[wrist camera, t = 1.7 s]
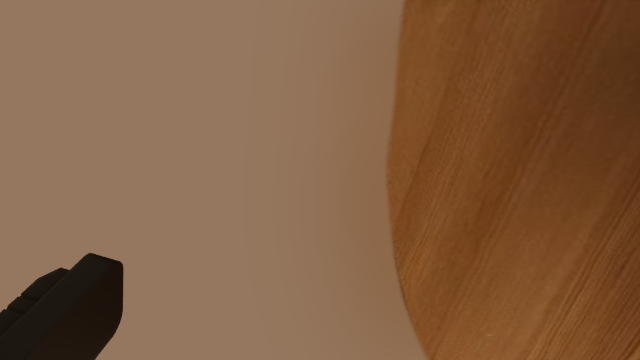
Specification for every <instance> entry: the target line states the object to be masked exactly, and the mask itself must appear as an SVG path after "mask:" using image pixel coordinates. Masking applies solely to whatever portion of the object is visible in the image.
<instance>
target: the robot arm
mask: <svg viewBox="0 0 640 360" xmlns="http://www.w3.org/2000/svg"><path fill="white" fill-rule="evenodd" d="M122 312H123V264H122V263H121V262H120V261H116V260H113V259H110V258H106V257H103V256H99V255H96V254H93V253H89V254H87V255H85V256H84V257H83V258H82V259H81V260H80V261H79V262H78V263H77V264H76V265H75V266H74V267H73V268H72V269H70V270H67V269H63V268H59V269H57V270H55V271H53V272H51V273H48V274H46V275H44V276H42V277H40V278H38V279H37V280H36V281H35V282H34V283H33V284H31V285H30V286H29V287H28V288H27V289H26V290H25V291H24V292H23V293H22V294H21V296H20V297H17V298H16V299H15V300H14V301H13V302H12V303H10V304H9V305H8V307H7V309H6V310H5V309H4V310H3V311H2V312H1V313H0V360H95V359H96V357H97V356H98V355H99V353H100V352H101V351H102V349H103V348H104V347H105V346H106V344H107V343H108V342H109V341H110V339H111V338H112V337H113V335H114V334H115V332H116V330H117V328H118V326H119V324H120V321H121V317H122Z"/></svg>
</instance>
